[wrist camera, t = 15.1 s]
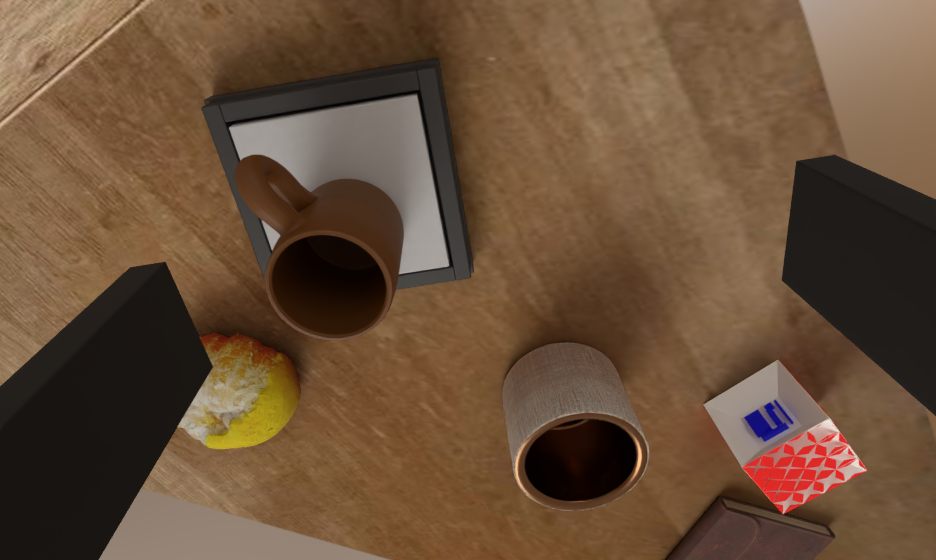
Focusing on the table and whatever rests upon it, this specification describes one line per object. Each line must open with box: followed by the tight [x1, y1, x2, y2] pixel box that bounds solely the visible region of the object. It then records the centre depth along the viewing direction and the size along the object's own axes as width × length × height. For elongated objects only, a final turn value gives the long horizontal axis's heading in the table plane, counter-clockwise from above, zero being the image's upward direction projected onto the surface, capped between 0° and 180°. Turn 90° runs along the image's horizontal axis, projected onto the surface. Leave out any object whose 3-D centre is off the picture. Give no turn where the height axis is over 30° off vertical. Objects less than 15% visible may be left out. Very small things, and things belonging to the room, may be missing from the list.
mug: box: [235, 155, 404, 341], centre depth 36 cm, size 12×8×9 cm, turn 32°
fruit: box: [178, 332, 301, 449], centre depth 48 cm, size 11×10×8 cm
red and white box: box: [703, 360, 867, 514], centre depth 51 cm, size 8×8×8 cm
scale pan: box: [229, 92, 449, 274], centre depth 40 cm, size 13×13×2 cm
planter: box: [502, 342, 649, 511], centre depth 48 cm, size 11×11×10 cm
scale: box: [202, 58, 474, 290], centre depth 41 cm, size 16×16×3 cm
